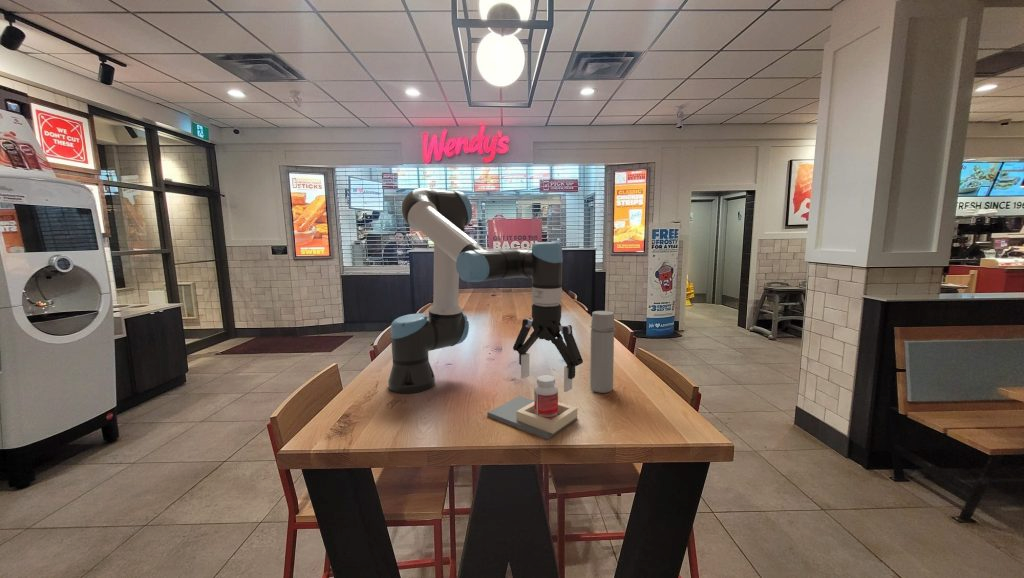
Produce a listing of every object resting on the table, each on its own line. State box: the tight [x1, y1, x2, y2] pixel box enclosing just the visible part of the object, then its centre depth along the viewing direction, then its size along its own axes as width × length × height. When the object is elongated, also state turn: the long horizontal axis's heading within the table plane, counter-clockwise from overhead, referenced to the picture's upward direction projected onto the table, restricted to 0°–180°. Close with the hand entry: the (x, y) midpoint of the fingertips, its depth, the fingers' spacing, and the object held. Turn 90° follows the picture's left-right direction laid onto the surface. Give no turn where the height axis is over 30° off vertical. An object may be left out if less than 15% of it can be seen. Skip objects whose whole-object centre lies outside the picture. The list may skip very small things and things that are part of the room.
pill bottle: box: [533, 374, 559, 420], centre depth 101 cm, size 6×6×11 cm
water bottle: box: [589, 310, 616, 394], centre depth 123 cm, size 9×8×25 cm
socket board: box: [487, 395, 578, 440], centre depth 105 cm, size 21×14×4 cm
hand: (545, 383), depth 101 cm, fingers open, 13 cm apart
